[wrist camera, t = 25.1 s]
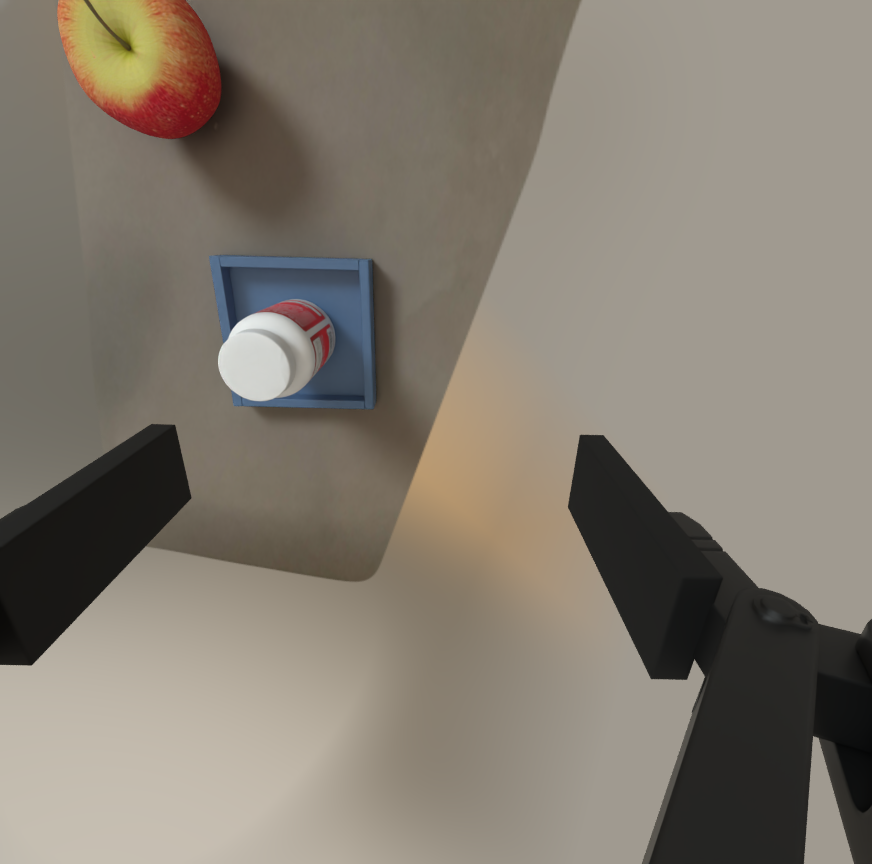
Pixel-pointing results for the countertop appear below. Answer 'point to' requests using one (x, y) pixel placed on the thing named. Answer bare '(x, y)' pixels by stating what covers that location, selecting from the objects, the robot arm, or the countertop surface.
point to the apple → (143, 62)
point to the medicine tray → (332, 292)
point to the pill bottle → (276, 350)
